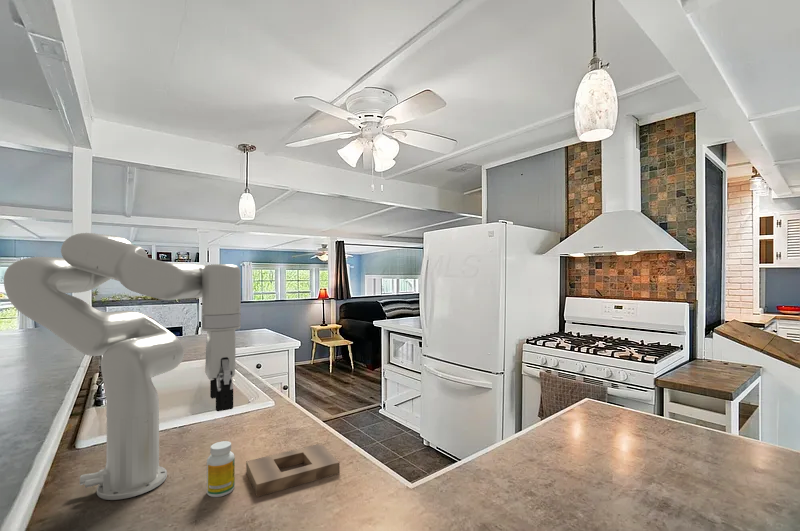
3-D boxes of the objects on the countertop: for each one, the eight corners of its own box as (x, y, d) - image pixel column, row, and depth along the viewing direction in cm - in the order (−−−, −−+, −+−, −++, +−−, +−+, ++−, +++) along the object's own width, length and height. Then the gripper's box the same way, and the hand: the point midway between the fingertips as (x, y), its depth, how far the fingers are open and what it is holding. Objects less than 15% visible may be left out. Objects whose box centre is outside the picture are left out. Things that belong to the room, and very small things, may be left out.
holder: (256, 497, 80) (256, 484, 81) (246, 472, 91) (246, 461, 91) (339, 473, 90) (339, 462, 90) (321, 453, 100) (321, 443, 100)
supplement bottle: (203, 490, 83) (203, 444, 84) (230, 481, 87) (230, 437, 87) (210, 501, 79) (210, 452, 79) (238, 491, 83) (238, 445, 83)
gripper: (198, 319, 89) (198, 395, 89) (206, 328, 75) (205, 419, 74) (233, 317, 93) (233, 390, 93) (247, 325, 79) (247, 411, 78)
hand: (221, 403), depth 84 cm, fingers open, 9 cm apart
